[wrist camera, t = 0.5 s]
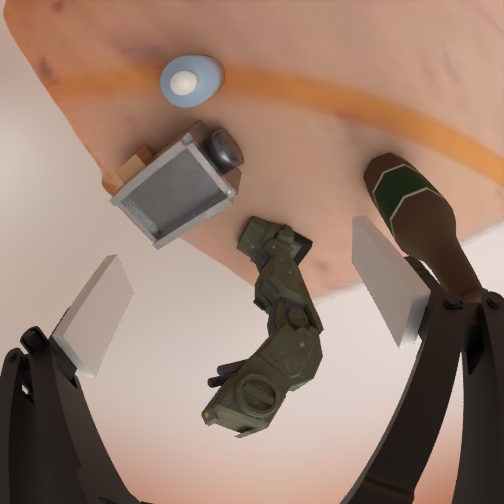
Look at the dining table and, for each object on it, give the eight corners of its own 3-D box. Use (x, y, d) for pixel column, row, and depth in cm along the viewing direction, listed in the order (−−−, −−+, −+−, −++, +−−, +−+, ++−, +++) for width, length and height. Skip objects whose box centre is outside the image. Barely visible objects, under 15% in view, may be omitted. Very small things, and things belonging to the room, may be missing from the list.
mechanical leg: (336, 248, 42) (319, 443, 18) (312, 277, 46) (277, 454, 23) (259, 204, 42) (160, 380, 18) (240, 238, 46) (151, 402, 22)
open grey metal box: (203, 98, 29) (187, 111, 23) (254, 165, 35) (251, 194, 29) (123, 164, 35) (96, 191, 29) (171, 217, 41) (155, 251, 35)
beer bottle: (418, 177, 34) (512, 302, 16) (382, 209, 38) (449, 348, 20) (390, 140, 31) (504, 261, 13) (351, 176, 35) (424, 323, 17)
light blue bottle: (207, 47, 25) (189, 44, 18) (233, 80, 28) (224, 88, 21) (170, 73, 27) (143, 80, 21) (196, 105, 30) (177, 121, 23)
